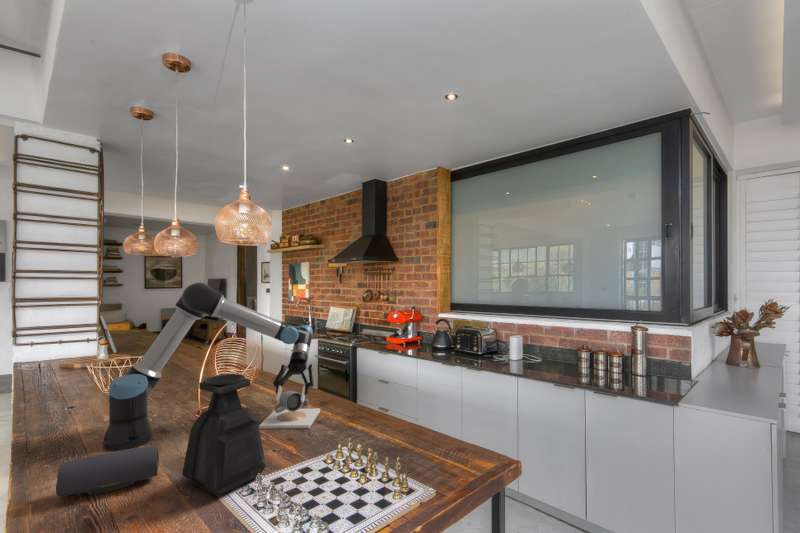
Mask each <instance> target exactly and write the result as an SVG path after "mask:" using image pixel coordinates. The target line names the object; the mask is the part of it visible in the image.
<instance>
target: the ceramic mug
mask: <svg viewBox="0 0 800 533" xmlns="http://www.w3.org/2000/svg"><path fill="white" fill-rule="evenodd" d="M301 395H302V393H300V392H298V391H293V390H285V391H283V392H281V397H280V401H279V403H277V404H276V405H275V406H274V408H273V409H274V410H275V412H276V413H280V412H282V411H284V410H286V409H287V410H288V411H291V412H294V411H297V410H298V409H299V408H300V407H301V406H302V402H301ZM277 409H278V410H277ZM274 410H273V411H274Z"/></svg>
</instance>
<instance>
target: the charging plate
mask: <svg viewBox="0 0 800 533" xmlns="http://www.w3.org/2000/svg"><path fill="white" fill-rule="evenodd" d="M309 404H310V398H305V399H304V403H302V406H301V407H300V408H299V409H298V410H297V411H294V412H291V411H288V410H287V409H286V410H284V411H282V412H280V413H276V412H275V410H273V411H271V413H270V414H269V415H268V416H267V417H266V418H265V419H264V420H263V421H262V422H261V423H260V424H258V426H259V430H260V429H261V430H262V429H265V430H266V429H272V430H273V429H310V427H311V426H312V424H314V421H315V420H316V418H317V417H318V416H319V414H320V412H321V408H316V407H315V408H303V406H308V405H309ZM278 409H279V408H278ZM278 409H277V410H278Z"/></svg>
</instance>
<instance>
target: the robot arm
mask: <svg viewBox="0 0 800 533" xmlns="http://www.w3.org/2000/svg"><path fill="white" fill-rule="evenodd" d="M174 307H175V312H173V314H172V315H171V317H170V318H169V320H168V321H167V323H166V324H165V325H164V327H163V328H162V329H161V331H160V333H159V334H158V335H157V337H156V338H155V340H154V341H153V342H152V344H151V345H150V347H149V348H148V350H147V351H146V353H145V354H144V355H143V357H142V358H141V360H140V361H138V362H136V363H133V364H132V365H131V367H130V368H129V369H128V371H127V373H126V374H125V375H122V376H119V377H116V378H115V379H113V380H112V381H111V382H110V384H109V388H108V393H109V395H108V396H109V398H108V400H109V402H108V403H109V404H108V406H109V407H108V408H109V409H108V412H109V413H108V415H109V416H108V418H109V420H108V422H109V423H108V426H107V429H106V432H105V435H104V437H103V439H102V448H103V450H106V451H122V450H128V449H134V448H137V447H139V446H142V445H144V444H146V443H147V442H150V441H151V440H152V439H153V437H154V436H153V434H154V431H153V429H152V426H151V424H150V421H149V418H148V400H149V399H148V398H149V396H150V394H152V392H153V391H154V388H156V386H157V384H158V383H159V381H160V380H161V378H162V376H163V375H162V370H163V368H164V367H165V366H166V364H167V363H168V362H169V360H170V358H171V356H172V355H173V354H174V353H175V351H176V349H177V348H178V346H179V345H180V344H181V342H182V341H183V339H184V338H185V336H186V334H188V332H189V331H190V329H191V327H192V326H193V324H195V322H196V321H198V320H201V319H202V318H203V317H204V316H205V315H207V316H210V317H214V316H217V317H219V318H222V319H225V320H226V321H229V322H232V323H235V324H237V325H239V326H243V327H245V328H247V329H249V330H253V331H255V332H257V333H260V334H262V335H265V336H267V337H270V338H272V339H275V340H277V341H279V342H282V343H283V344H285V345H292V344H293V347H292V351H291V356H290V359H289V362H288V364H287V365H284V364H281V367H280V370H279V371H278V374H277V375H276V377H275V378H274V380H273V382H272V383H273V387H274V388H275V395H276V397H275V401H276V403H277V404H279V403H280V397H281V395H282V393H283V386H284V385H285V383H286V382H287V381H288V380H289V379H290V377H292V376H293V375H297V376H299V375H301V378H302V379H303V380H302V381H303V382H304V384H303V386H302V391H301V402H302V403H304V399H306V395H308V393H309V389H310V387H311V388H313V387H314V377H313V370H314V367H313V364H309V365H308V364H307V363H308V359H309V354H310V348H311V344H312V339H313V334H314V333H313V331H314V330H313V328H312V327H311V326H310V325H309V324H308V325H307V324H306V325H305V324H301V325H299V326H294V325H292V324H290V323H287V322H284V321H281V320H277V319H275V318H273V317H271V316H268V315H266V314H264V313H262V312H258V311H256V310H254V309H251V308H248V307H246V306H244V305H242V304H239V303H237V302H235V301H233V300H229V299H228V298H225V296H224V294H221V293H220V292H217V291H216V290H214V289H213V288H212V287H211V286H210V285H208V284H207V283H205V282H195V283H192V284H191V283H190V284H189V285H188V286H187V287H185V289H184V290H183V292H182V294H181V296H180V297H179V299H178V300H177V301H176V303H175V304H174ZM305 370H307V371H308V377H309V382H308V380H307V377H306V375H305V373H304V372H305ZM285 372H286V373H285Z"/></svg>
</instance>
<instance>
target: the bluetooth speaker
mask: <svg viewBox="0 0 800 533" xmlns="http://www.w3.org/2000/svg"><path fill="white" fill-rule="evenodd" d="M159 454H160V453H159V445H151V446H150V445H149V446H141V447H134V448H128V449H123V450H115V451H111V452H107V453H101V454H96V455H90V456H86V457H82V458H81V457H80V458H76V459H73V460H68V461H65V462H62V463H60V465H59V467H58V470H57V478H56V485H55V493H56V496H57V497H64V496H72V495H77V494H83V493H87V495H90V496H91V495H97V494H102V493H107V492H106V491H108V492H111V491H110V490H112V491H116V490H115V489H117V490H120V489H119V488H121V489H124V488H123V487H125V488H128V487H131V486H133V484H134V483H135V482H139V481H143V480H147V479H149V478H150V479H151V478H153V477H156V476H158V472H159V465H160V464H159V461H160V458H159V456H160V455H159Z"/></svg>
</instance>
